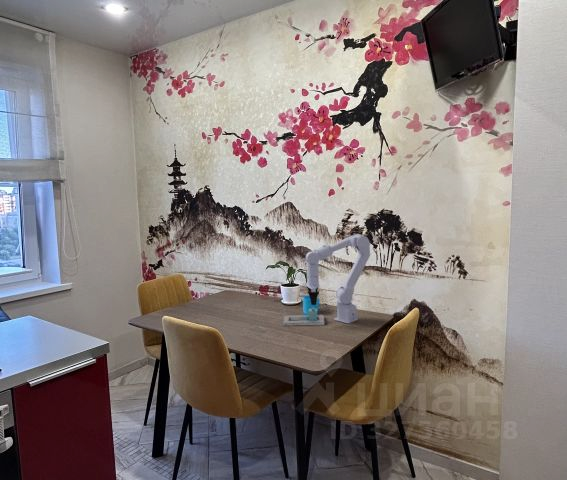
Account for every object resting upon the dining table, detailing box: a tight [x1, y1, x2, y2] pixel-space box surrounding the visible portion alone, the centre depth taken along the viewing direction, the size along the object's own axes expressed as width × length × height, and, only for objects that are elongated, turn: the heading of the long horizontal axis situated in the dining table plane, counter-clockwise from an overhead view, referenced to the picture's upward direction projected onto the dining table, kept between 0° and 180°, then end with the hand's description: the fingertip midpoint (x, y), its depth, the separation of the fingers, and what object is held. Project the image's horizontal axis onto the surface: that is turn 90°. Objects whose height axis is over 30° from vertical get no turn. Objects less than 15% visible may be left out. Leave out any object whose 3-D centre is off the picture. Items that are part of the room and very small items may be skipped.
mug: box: [302, 294, 320, 315], centre depth 217 cm, size 12×8×8 cm
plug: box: [308, 308, 318, 321], centre depth 200 cm, size 4×4×7 cm
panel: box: [283, 314, 325, 327], centre depth 200 cm, size 20×11×2 cm, turn 87°
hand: (313, 302), depth 199 cm, fingers open, 7 cm apart
